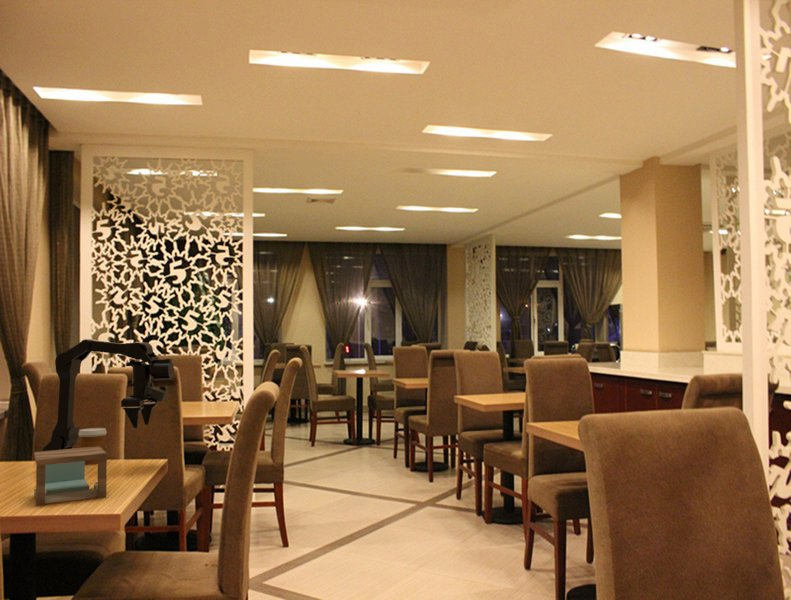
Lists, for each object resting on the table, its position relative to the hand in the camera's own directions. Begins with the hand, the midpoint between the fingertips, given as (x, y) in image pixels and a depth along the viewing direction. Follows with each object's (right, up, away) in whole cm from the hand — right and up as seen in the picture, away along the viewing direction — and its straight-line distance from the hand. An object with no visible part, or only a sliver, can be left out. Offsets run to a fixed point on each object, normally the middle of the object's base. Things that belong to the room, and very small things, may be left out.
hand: (141, 426), depth 223 cm
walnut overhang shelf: (-5, -12, -38) cm, 40 cm away
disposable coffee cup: (-24, -16, +16) cm, 33 cm away
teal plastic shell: (-11, -13, -28) cm, 33 cm away
